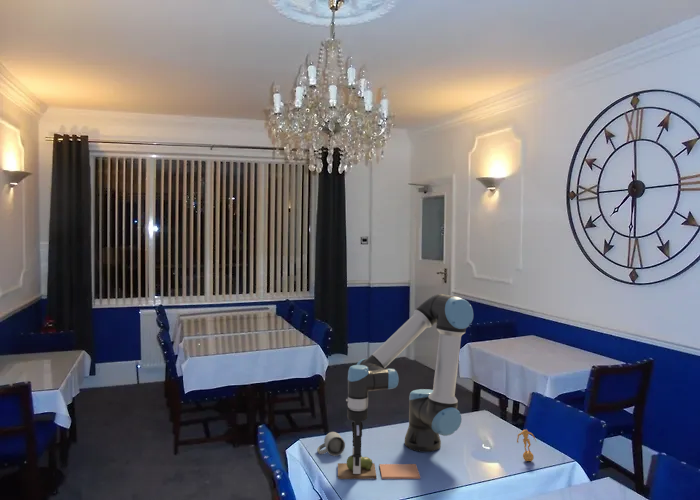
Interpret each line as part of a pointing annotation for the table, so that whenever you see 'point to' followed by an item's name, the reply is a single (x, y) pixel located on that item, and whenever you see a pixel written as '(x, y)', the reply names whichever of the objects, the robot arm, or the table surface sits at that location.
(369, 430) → the table surface
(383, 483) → the table surface
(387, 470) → the terracotta tile
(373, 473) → the walnut board
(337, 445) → the ceramic mug
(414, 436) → the robot arm
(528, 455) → the figurine
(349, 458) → the green oblong lump
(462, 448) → the table surface
